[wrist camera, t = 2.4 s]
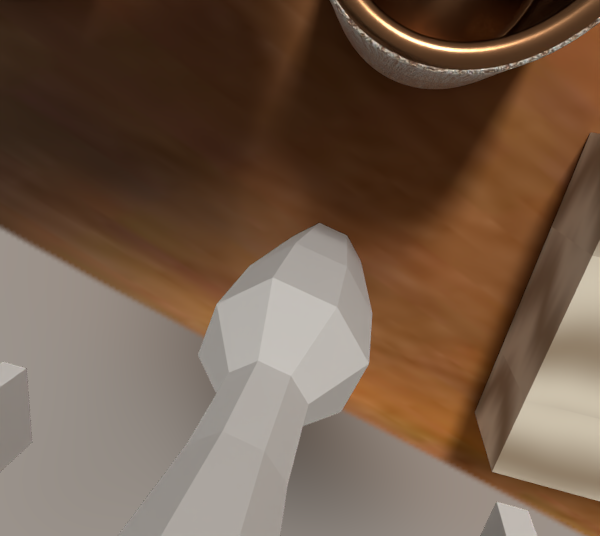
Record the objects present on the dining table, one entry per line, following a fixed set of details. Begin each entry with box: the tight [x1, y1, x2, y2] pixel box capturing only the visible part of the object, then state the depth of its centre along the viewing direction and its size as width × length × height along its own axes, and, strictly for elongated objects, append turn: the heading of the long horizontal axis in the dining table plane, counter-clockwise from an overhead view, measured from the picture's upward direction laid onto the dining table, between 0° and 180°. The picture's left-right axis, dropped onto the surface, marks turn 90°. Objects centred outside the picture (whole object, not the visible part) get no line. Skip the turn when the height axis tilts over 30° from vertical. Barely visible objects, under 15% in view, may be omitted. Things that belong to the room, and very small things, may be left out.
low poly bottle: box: [118, 223, 372, 536], centre depth 16 cm, size 6×6×22 cm
